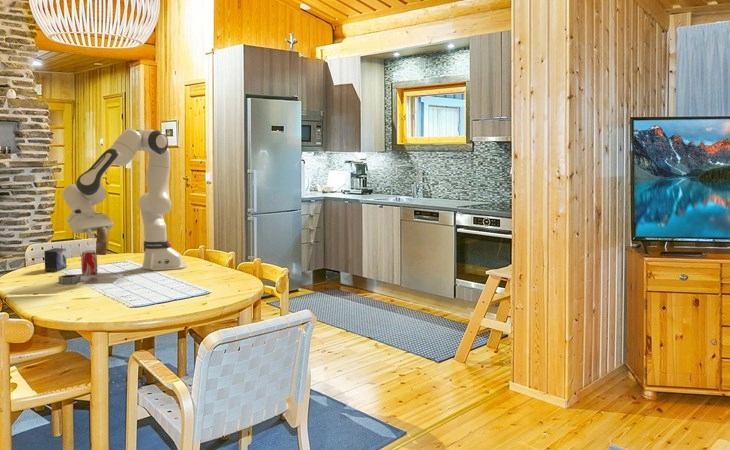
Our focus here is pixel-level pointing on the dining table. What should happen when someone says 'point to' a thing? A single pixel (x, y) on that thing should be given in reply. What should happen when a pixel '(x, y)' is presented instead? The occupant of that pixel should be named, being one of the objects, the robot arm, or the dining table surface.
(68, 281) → the ring stand
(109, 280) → the pad
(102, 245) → the peg
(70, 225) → the robot arm
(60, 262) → the small box
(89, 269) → the soda can
